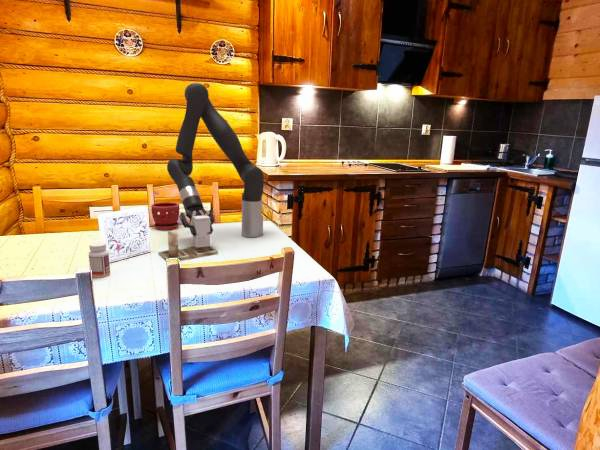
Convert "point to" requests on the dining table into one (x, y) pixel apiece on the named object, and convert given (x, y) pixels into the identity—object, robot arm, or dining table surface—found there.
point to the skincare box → (201, 231)
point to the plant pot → (165, 215)
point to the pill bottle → (99, 259)
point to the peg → (173, 243)
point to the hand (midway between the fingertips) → (203, 234)
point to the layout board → (190, 253)
